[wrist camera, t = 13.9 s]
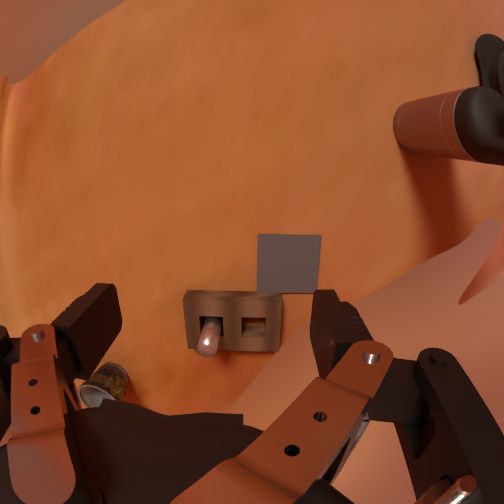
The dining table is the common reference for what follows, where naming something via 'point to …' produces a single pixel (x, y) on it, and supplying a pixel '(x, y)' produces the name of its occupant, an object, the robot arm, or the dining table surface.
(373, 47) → the dining table surface
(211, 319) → the pin
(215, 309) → the socket block
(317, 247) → the mat
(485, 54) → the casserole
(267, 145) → the dining table surface
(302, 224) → the dining table surface
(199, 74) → the dining table surface
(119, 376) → the ceramic cup
